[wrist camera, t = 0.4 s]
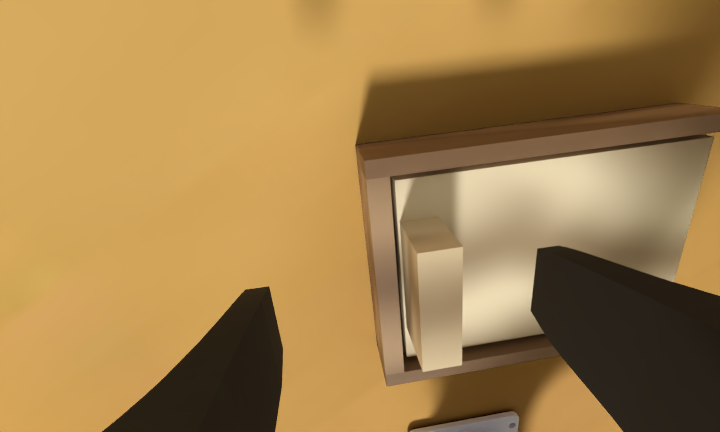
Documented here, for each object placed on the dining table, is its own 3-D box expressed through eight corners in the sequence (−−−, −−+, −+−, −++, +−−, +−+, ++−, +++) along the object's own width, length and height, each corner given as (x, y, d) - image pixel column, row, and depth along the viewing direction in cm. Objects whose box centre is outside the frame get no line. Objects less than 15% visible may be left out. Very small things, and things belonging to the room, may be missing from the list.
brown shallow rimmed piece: (632, 301, 24) (678, 335, 21) (377, 344, 23) (386, 386, 20) (678, 103, 19) (746, 110, 16) (355, 144, 18) (363, 160, 15)
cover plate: (653, 304, 22) (719, 350, 18) (403, 346, 20) (422, 404, 17) (697, 133, 18) (792, 150, 14) (390, 175, 17) (411, 205, 13)
